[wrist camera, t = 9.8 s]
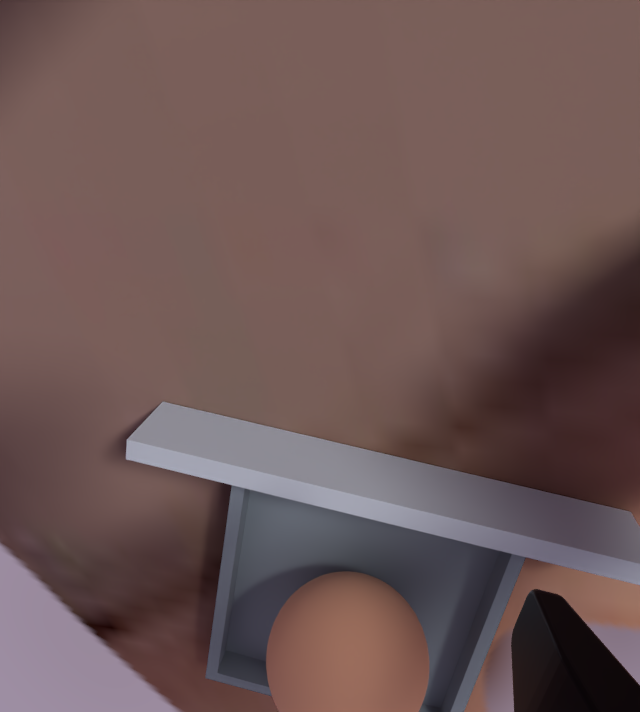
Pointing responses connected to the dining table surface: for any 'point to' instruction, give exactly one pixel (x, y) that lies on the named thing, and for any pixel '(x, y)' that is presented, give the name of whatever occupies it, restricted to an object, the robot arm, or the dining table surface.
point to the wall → (392, 490)
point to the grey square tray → (364, 555)
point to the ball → (347, 648)
